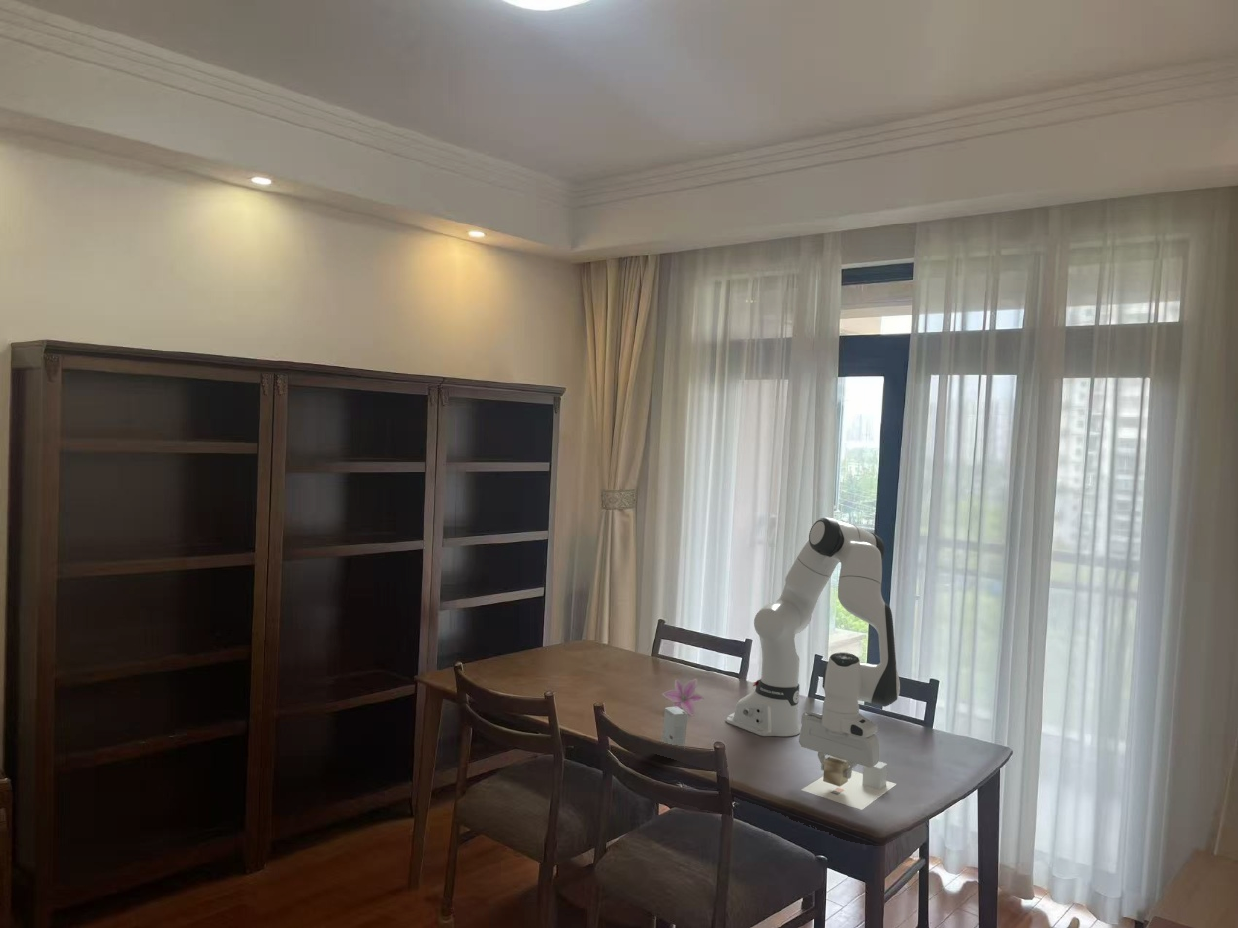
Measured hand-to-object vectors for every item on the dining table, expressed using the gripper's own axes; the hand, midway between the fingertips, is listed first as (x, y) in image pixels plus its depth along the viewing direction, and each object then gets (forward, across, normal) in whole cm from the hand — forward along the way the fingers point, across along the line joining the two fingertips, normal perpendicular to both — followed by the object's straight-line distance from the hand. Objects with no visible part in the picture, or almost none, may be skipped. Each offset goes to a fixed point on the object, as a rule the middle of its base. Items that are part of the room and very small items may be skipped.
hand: (836, 773), depth 220 cm
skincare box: (+5, -43, -9) cm, 45 cm away
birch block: (+2, 0, 0) cm, 2 cm away
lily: (+6, -63, +23) cm, 67 cm away
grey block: (+4, +6, +11) cm, 13 cm away
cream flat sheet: (+4, +2, +5) cm, 7 cm away
